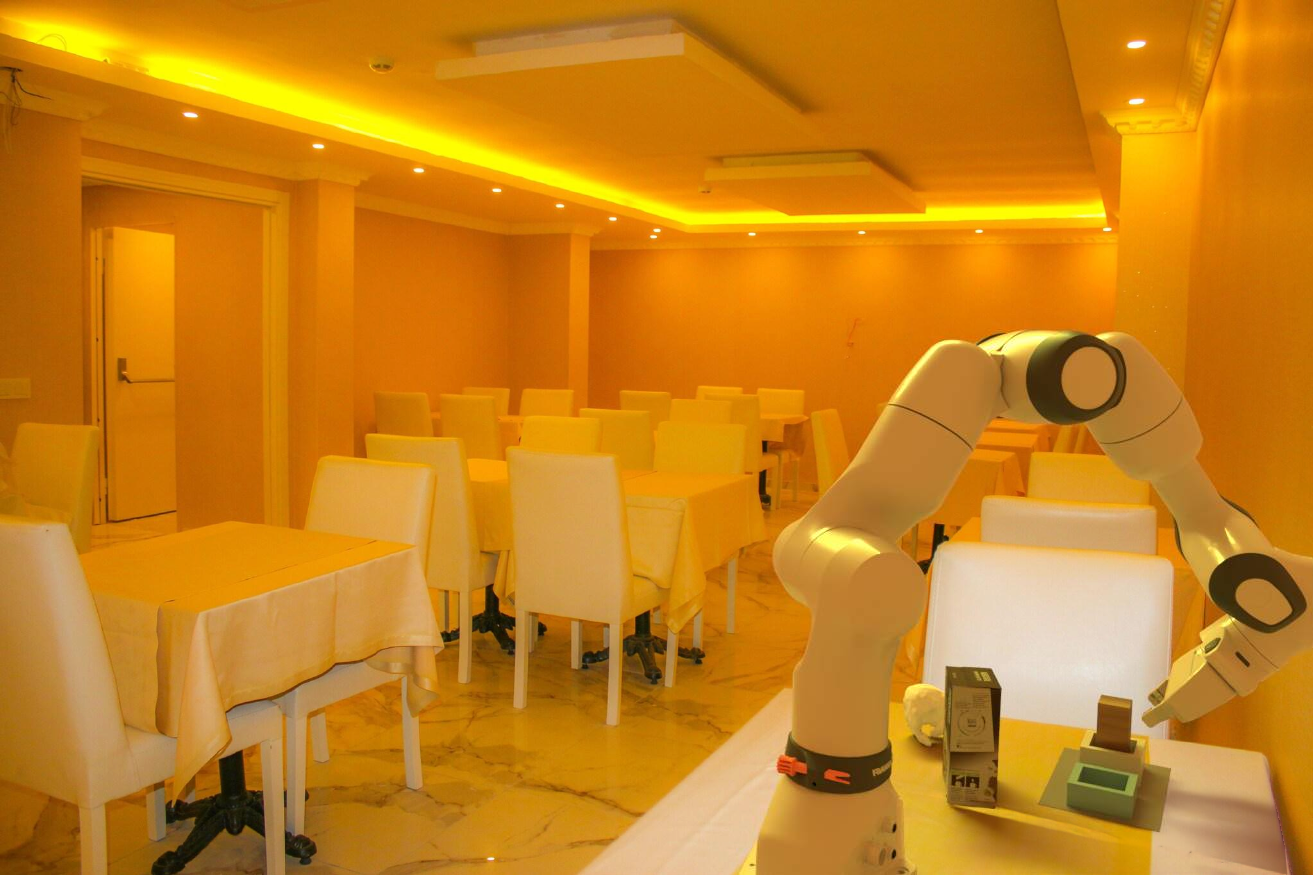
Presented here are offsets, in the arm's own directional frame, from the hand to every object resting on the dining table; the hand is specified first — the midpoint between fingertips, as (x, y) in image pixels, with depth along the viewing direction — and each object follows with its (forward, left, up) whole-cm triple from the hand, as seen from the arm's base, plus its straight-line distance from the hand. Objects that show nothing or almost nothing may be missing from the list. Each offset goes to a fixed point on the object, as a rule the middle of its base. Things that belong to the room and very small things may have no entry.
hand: (1148, 711), depth 134 cm
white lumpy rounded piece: (+2, +28, -11) cm, 30 cm away
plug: (0, +4, -9) cm, 10 cm away
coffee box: (-15, +20, -11) cm, 27 cm away
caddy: (-5, +4, -10) cm, 12 cm away
